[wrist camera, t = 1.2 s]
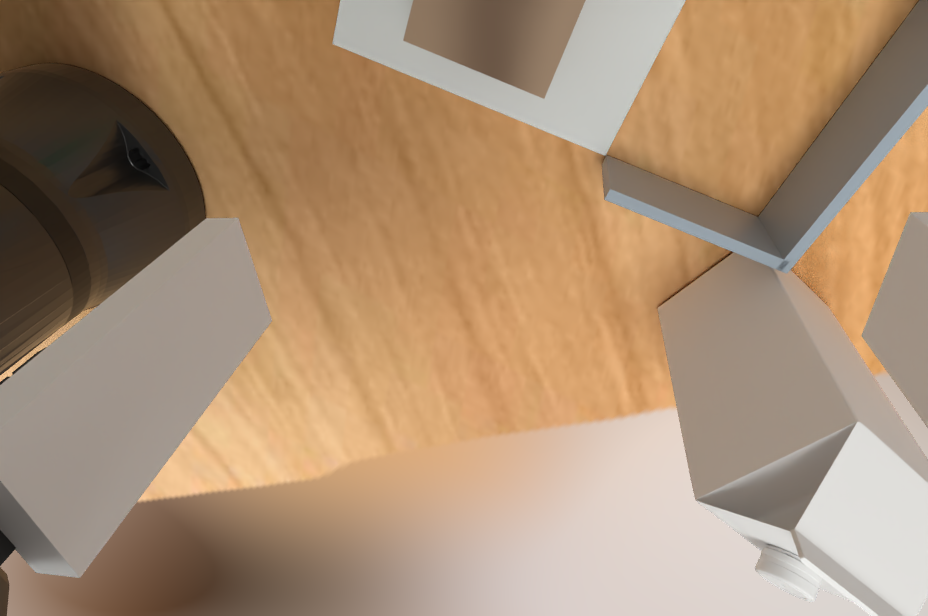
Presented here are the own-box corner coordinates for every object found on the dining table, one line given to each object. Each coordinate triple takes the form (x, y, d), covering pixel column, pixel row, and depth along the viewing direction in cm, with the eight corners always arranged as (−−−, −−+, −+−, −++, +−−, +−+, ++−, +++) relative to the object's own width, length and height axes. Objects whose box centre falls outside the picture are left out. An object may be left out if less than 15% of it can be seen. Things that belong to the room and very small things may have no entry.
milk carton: (754, 233, 32) (913, 517, 17) (830, 307, 34) (1039, 626, 18) (655, 306, 36) (710, 592, 20) (728, 369, 37) (830, 677, 22)
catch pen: (601, 164, 31) (604, 199, 27) (746, -114, 24) (779, -124, 20) (760, 229, 32) (786, 273, 28) (952, -23, 24) (1027, -14, 20)
